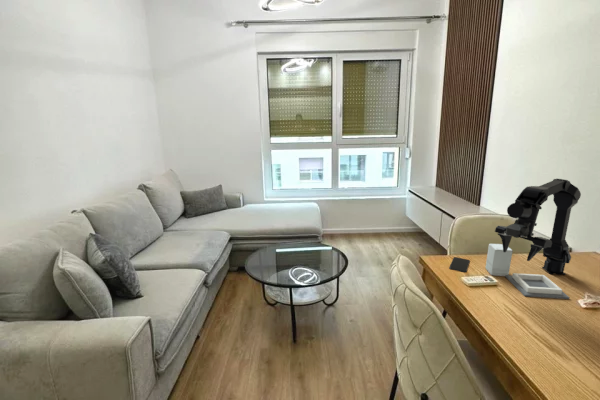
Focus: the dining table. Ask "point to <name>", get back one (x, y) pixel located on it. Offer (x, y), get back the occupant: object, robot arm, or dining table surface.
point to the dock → (536, 286)
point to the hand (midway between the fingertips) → (515, 256)
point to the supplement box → (498, 260)
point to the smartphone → (459, 264)
